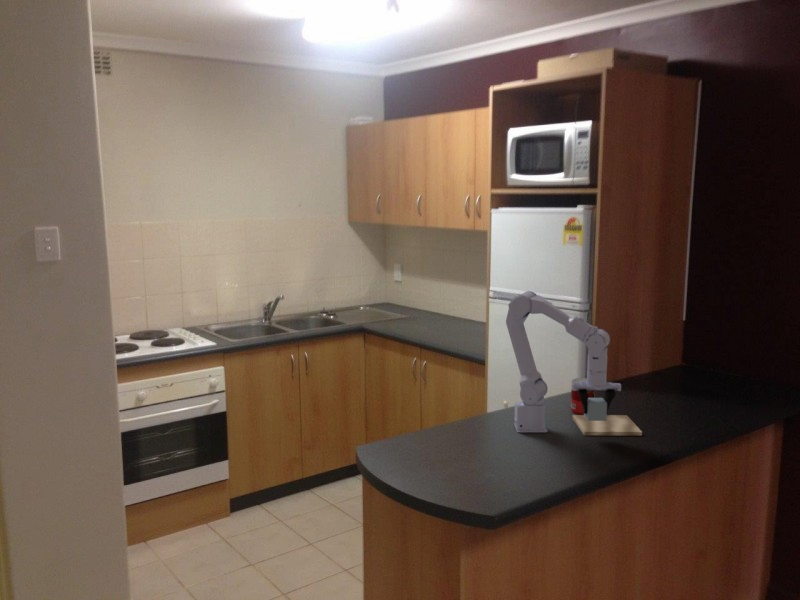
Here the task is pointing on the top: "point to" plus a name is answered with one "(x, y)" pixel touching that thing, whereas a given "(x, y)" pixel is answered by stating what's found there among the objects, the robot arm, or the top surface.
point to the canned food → (575, 398)
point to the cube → (596, 409)
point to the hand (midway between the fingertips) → (595, 413)
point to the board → (607, 426)
